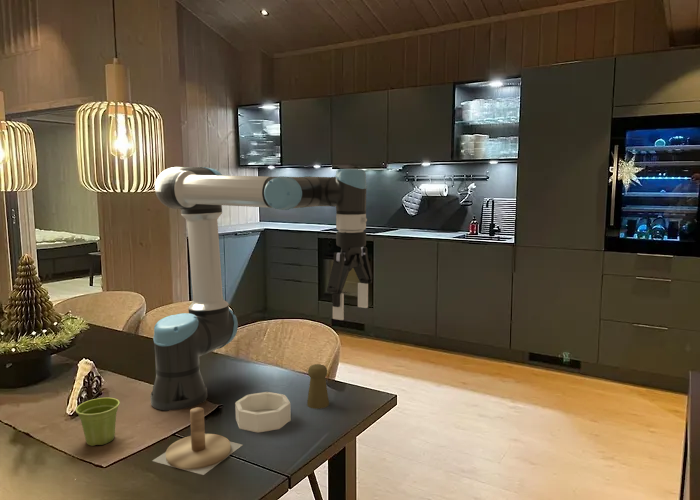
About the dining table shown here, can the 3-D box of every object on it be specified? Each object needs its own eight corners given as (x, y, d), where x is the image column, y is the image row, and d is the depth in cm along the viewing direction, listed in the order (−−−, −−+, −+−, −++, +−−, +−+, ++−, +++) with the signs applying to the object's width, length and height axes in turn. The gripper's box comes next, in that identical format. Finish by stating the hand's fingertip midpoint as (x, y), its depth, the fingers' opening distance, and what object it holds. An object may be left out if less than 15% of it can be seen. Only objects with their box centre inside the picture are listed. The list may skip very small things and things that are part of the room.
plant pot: (93, 454, 122) (91, 417, 121) (69, 443, 127) (67, 408, 126) (130, 437, 130) (128, 402, 129) (106, 427, 135) (103, 394, 134)
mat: (152, 463, 118) (151, 460, 118) (194, 435, 131) (194, 433, 130) (203, 477, 112) (203, 474, 112) (243, 446, 125) (243, 444, 125)
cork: (326, 409, 145) (325, 370, 143) (304, 407, 146) (303, 368, 144) (331, 400, 150) (331, 362, 149) (310, 398, 152) (310, 361, 150)
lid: (151, 460, 118) (149, 417, 116) (194, 433, 130) (193, 393, 129) (203, 474, 112) (201, 429, 111) (243, 444, 125) (241, 403, 123)
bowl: (226, 427, 135) (225, 408, 134) (256, 407, 146) (255, 389, 146) (271, 437, 129) (270, 417, 129) (298, 415, 141) (297, 397, 140)
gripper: (340, 236, 123) (340, 326, 126) (385, 227, 145) (384, 304, 148) (312, 234, 127) (313, 322, 130) (360, 226, 149) (359, 301, 151)
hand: (351, 313), depth 139 cm, fingers open, 13 cm apart
